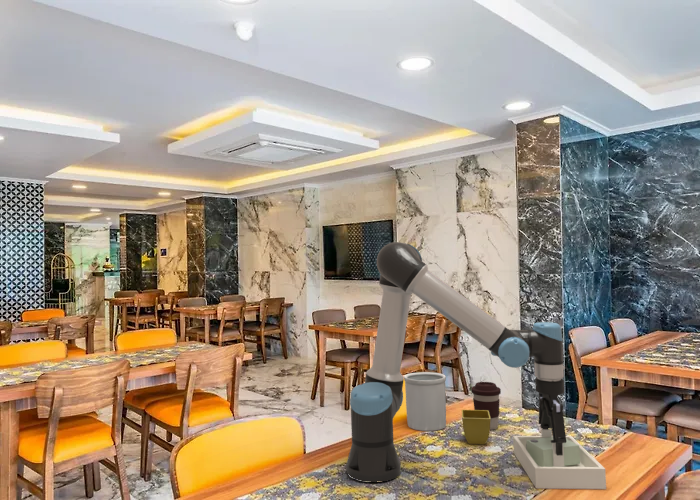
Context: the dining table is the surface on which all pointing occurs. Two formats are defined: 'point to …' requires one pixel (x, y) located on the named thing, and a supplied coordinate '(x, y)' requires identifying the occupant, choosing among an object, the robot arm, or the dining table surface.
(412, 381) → the utensil holder
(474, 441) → the flower pot
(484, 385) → the coffee cup
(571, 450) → the dotted green block
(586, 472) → the tray
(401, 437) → the dining table surface
